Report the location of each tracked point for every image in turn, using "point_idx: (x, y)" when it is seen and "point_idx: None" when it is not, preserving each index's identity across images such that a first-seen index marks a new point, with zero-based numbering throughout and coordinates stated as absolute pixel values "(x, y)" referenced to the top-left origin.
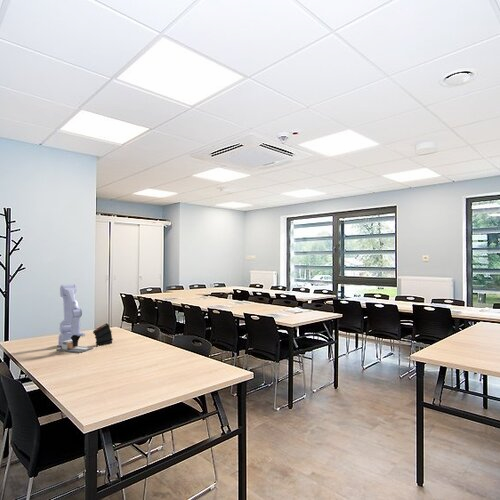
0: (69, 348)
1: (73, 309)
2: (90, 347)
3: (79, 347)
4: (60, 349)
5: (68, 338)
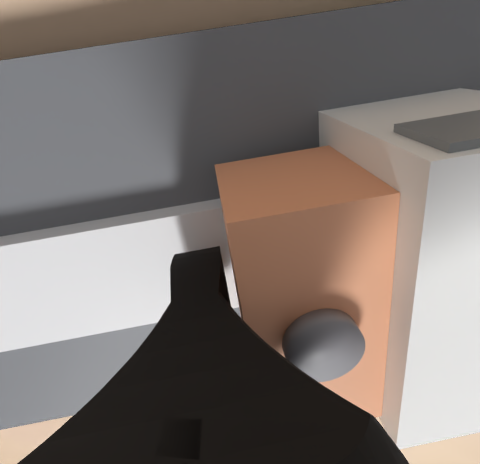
0: None
1: None
2: (34, 420)
3: (124, 308)
4: (457, 17)
5: None
